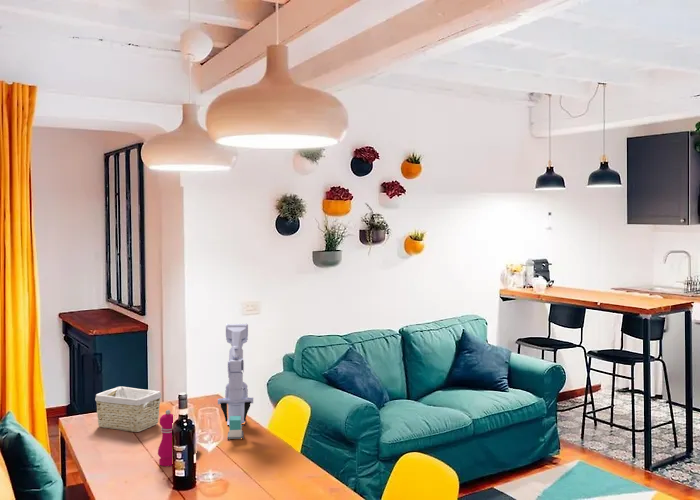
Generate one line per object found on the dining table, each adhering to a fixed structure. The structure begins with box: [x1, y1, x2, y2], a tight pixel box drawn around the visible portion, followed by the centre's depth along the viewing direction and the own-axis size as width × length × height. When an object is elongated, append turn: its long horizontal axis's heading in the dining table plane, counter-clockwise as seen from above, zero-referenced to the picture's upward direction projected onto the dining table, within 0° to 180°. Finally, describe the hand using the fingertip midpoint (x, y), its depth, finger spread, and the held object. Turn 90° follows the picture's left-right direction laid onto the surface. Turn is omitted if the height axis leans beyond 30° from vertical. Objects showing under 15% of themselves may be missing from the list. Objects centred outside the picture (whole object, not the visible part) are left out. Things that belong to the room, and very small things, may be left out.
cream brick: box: [228, 425, 243, 437], centre depth 273 cm, size 6×5×3 cm
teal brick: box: [228, 416, 241, 431], centre depth 273 cm, size 6×4×4 cm
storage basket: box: [94, 386, 162, 433], centre depth 287 cm, size 24×16×15 cm
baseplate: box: [227, 430, 244, 439], centre depth 273 cm, size 7×6×1 cm
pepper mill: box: [157, 409, 174, 467], centre depth 243 cm, size 7×7×20 cm
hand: (235, 420), depth 273 cm, fingers open, 7 cm apart
